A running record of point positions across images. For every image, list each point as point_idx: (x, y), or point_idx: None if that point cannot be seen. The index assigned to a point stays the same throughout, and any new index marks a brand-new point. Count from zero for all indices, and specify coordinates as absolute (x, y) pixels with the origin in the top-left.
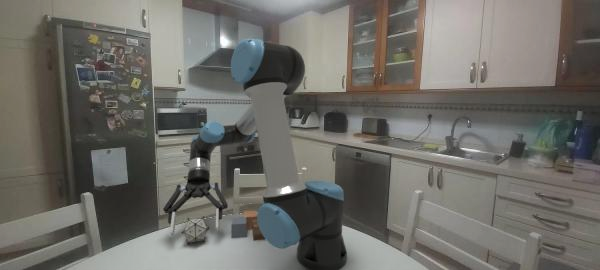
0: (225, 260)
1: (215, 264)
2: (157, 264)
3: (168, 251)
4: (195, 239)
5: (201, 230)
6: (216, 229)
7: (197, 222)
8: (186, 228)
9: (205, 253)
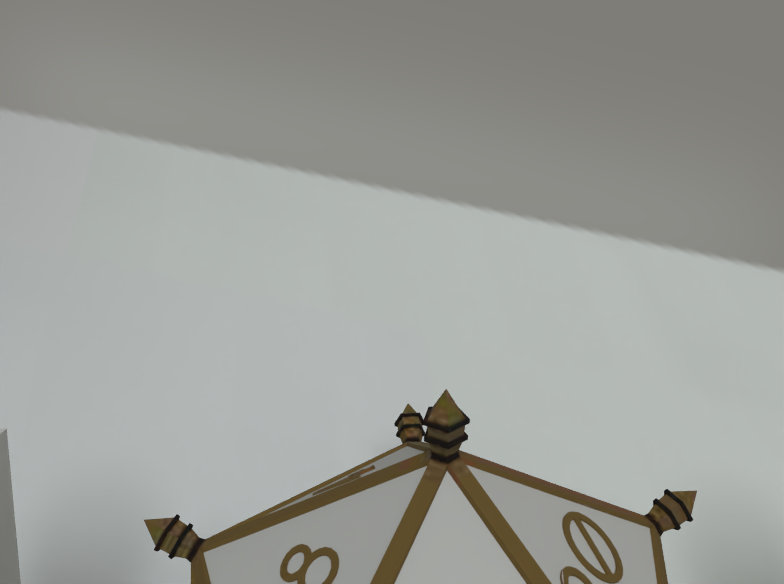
0: (72, 177)
1: (178, 146)
2: (742, 263)
3: (744, 487)
4: (406, 412)
5: (309, 497)
6: (5, 526)
7: (402, 535)
8: (633, 552)
9: (270, 338)
